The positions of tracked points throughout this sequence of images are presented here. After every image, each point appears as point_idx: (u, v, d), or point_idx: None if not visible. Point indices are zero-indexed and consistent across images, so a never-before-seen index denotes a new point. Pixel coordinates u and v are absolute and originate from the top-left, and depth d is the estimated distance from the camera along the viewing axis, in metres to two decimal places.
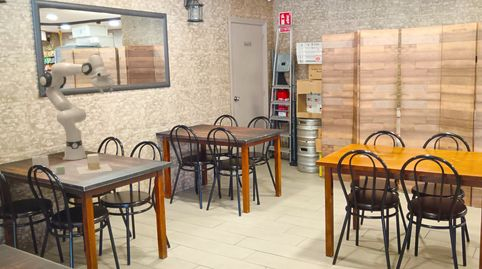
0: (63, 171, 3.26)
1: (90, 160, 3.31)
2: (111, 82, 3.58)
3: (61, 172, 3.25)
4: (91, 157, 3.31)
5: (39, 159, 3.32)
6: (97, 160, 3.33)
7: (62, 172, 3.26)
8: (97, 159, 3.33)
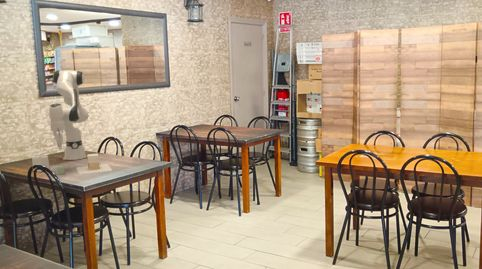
0: (63, 171, 3.26)
1: (90, 160, 3.31)
2: (56, 139, 3.17)
3: (61, 172, 3.25)
4: (91, 157, 3.31)
5: (39, 159, 3.32)
6: (97, 160, 3.33)
7: (62, 172, 3.26)
8: (97, 159, 3.33)
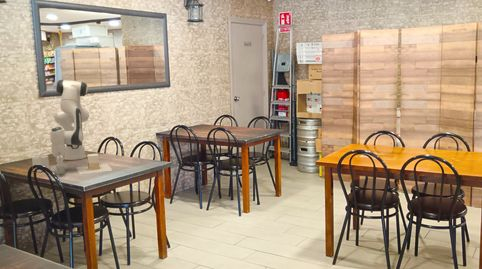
0: (63, 171, 3.26)
1: (90, 160, 3.31)
2: (57, 162, 3.20)
3: (61, 172, 3.25)
4: (91, 157, 3.31)
5: (39, 159, 3.32)
6: (97, 160, 3.33)
7: (62, 172, 3.26)
8: (97, 159, 3.33)
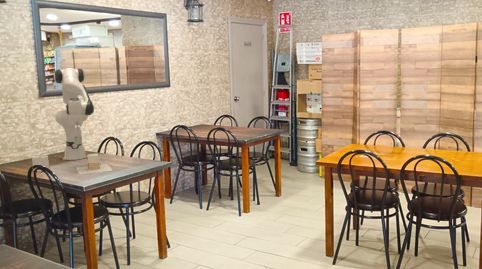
0: (80, 141, 3.28)
1: (90, 160, 3.31)
2: None
3: (78, 142, 3.27)
4: (91, 157, 3.31)
5: (39, 159, 3.32)
6: (97, 160, 3.33)
7: (79, 142, 3.28)
8: (97, 159, 3.33)
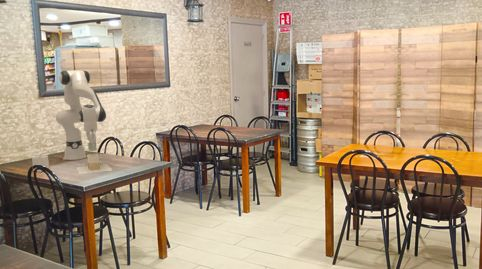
0: (95, 147, 3.32)
1: (90, 160, 3.31)
2: (89, 139, 3.26)
3: None
4: (91, 157, 3.31)
5: (39, 159, 3.32)
6: (97, 160, 3.33)
7: (94, 148, 3.32)
8: (97, 159, 3.33)
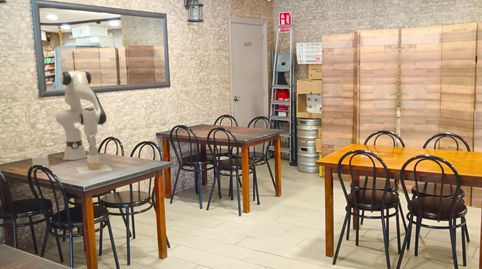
0: (96, 152, 3.33)
1: (91, 160, 3.31)
2: (90, 142, 3.27)
3: (94, 153, 3.33)
4: (92, 157, 3.31)
5: (39, 159, 3.32)
6: (98, 160, 3.33)
7: (95, 153, 3.33)
8: (98, 159, 3.33)
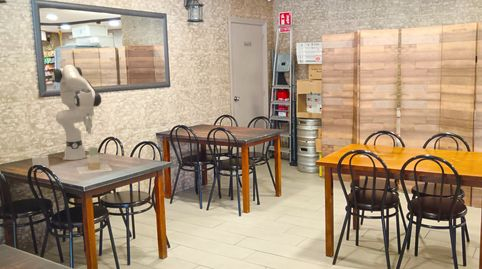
0: (96, 152, 3.33)
1: (91, 160, 3.31)
2: (86, 123, 3.27)
3: (94, 153, 3.33)
4: (92, 157, 3.31)
5: (39, 159, 3.32)
6: (98, 160, 3.33)
7: (95, 153, 3.33)
8: (98, 159, 3.33)
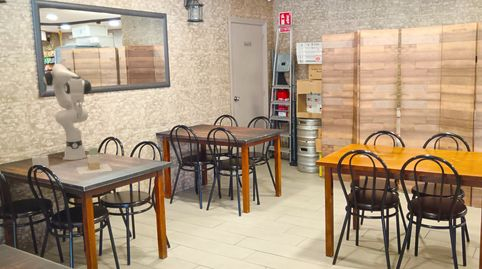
0: (96, 152, 3.33)
1: (91, 160, 3.31)
2: (76, 110, 3.32)
3: (94, 153, 3.33)
4: (92, 157, 3.31)
5: (39, 159, 3.32)
6: (98, 160, 3.33)
7: (95, 153, 3.33)
8: (98, 159, 3.33)
